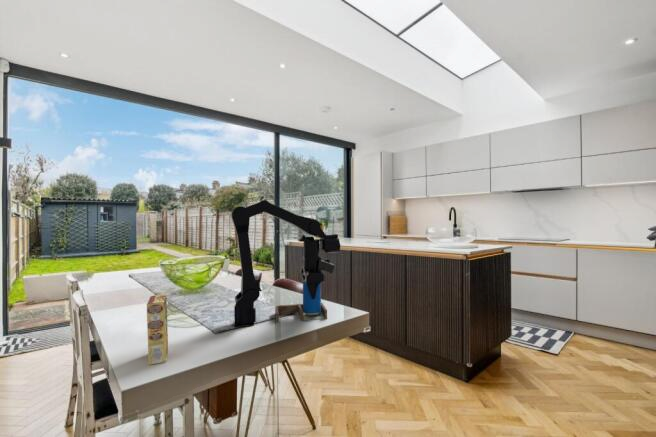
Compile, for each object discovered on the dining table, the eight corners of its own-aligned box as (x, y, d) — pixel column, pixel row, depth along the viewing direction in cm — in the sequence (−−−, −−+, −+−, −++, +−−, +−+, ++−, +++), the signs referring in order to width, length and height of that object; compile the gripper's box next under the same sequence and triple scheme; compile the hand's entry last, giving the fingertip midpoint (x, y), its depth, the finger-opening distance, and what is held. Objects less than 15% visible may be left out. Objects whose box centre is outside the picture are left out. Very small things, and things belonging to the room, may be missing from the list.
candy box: (166, 362, 81) (165, 301, 81) (147, 365, 80) (146, 303, 79) (168, 349, 89) (167, 293, 89) (151, 352, 88) (150, 295, 88)
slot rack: (276, 322, 111) (276, 313, 111) (275, 313, 121) (275, 305, 121) (327, 318, 114) (327, 310, 114) (321, 310, 124) (321, 302, 124)
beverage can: (320, 315, 114) (320, 281, 114) (302, 315, 115) (301, 281, 114) (321, 310, 121) (321, 278, 121) (303, 310, 121) (303, 278, 121)
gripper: (339, 256, 110) (339, 302, 110) (328, 250, 128) (328, 289, 128) (306, 257, 108) (306, 304, 108) (300, 251, 126) (300, 291, 126)
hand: (311, 296), depth 118 cm, fingers closed on beverage can, 6 cm apart
